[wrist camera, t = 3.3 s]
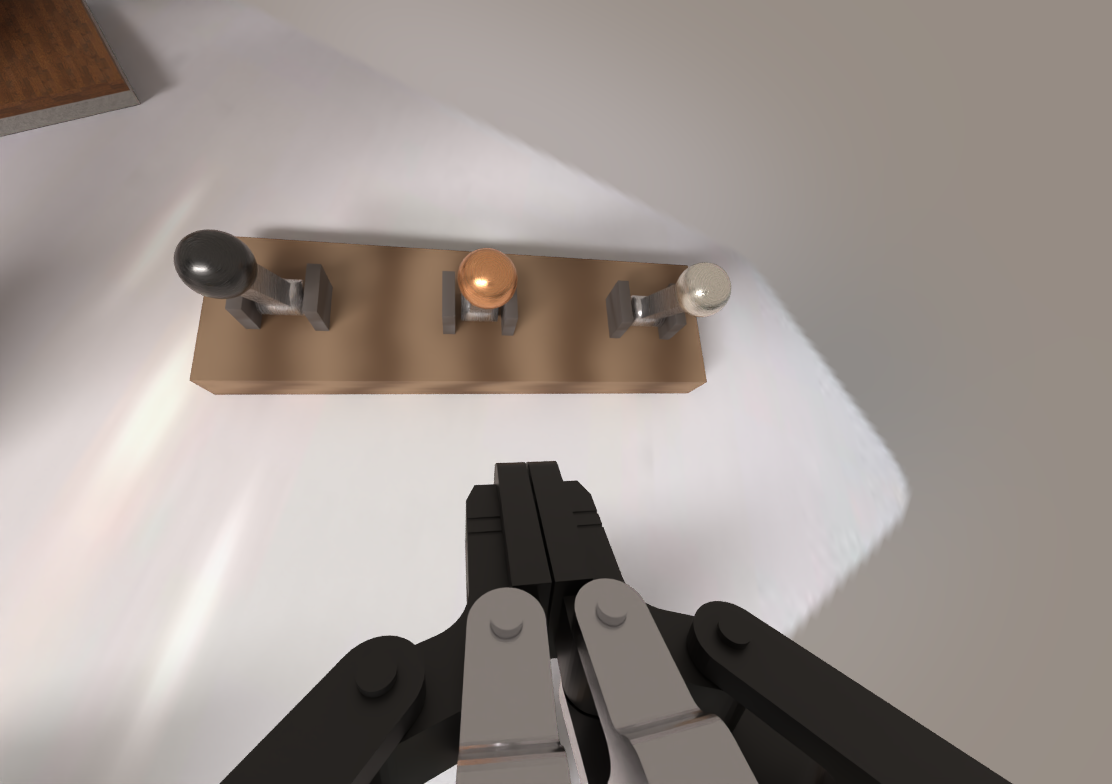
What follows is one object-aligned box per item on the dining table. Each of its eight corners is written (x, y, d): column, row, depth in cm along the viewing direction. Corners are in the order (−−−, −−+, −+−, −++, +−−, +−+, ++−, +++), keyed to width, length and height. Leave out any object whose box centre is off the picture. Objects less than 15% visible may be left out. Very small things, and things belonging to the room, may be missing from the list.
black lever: (263, 322, 29) (157, 290, 19) (263, 275, 29) (156, 216, 19) (315, 324, 30) (240, 294, 19) (314, 277, 30) (239, 222, 19)
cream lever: (619, 332, 34) (691, 311, 24) (620, 292, 34) (692, 254, 24) (656, 333, 35) (742, 313, 24) (657, 294, 35) (742, 258, 24)
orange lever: (456, 328, 32) (457, 302, 21) (456, 284, 31) (457, 237, 21) (499, 329, 32) (521, 305, 22) (499, 286, 32) (521, 242, 22)
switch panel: (214, 394, 30) (161, 364, 24) (234, 260, 33) (190, 206, 27) (687, 393, 37) (727, 369, 32) (671, 284, 40) (705, 245, 35)
